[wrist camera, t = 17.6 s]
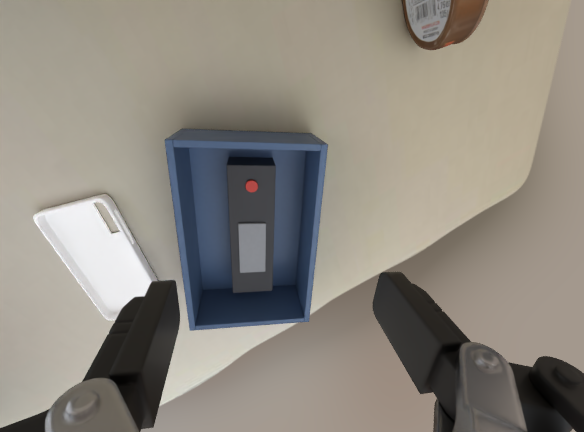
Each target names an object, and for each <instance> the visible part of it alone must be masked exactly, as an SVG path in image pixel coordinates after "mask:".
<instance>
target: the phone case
mask: <svg viewBox="0 0 584 432" xmlns="http://www.w3.org/2000/svg"><path fill="white" fill-rule="evenodd" d="M96 202H101V203H102V204H103V205H104V206H105V207H106V208H107V210H108V212H109V213H110V215H111V217H112V219H113V220H114V222H115V224H116V225H117V227H118V229H119V232H115V233H112V232H111V231H110V229H109V227H108V226H107V224H106V222H105V221H104V219H103V217H102V216H101V214H100V212H99V211H98V209H97V207H96V206H95V204H94V203H96ZM34 221H35V223H36V225H37V226H38V228H39V229H40V230H41V232H42V233H43V234H44V236H45V237H46V239H47V240H48V241H49V243H50V244H51V245H52V247H53V248H54V250H55V251H56V252H57V254H58V255H59V256H60V258H61V259H62V261H63V262H64V263H65V265H66V266H67V267H68V269H69V270H70V272H71V273H72V274H73V276H74V277H75V279H76V280H77V281H78V283H79V284H80V285H81V287H82V288H83V290H84V291H85V292H86V294H87V295H88V296H89V298H90V299H91V301H92V302H93V303H94V305H95V306H96V307H97V309H98V310H99V312H100V313H101V314H102V316H103V317H104V318H105V319H107V320H109V321H113V320H116V318H117V317H118V315H119V313H120V311H121V309H122V308H123V307H124V306H125V305H126V304H127V303H128V302H129V301H130V300H132V299H133V298H134V297H140V296H145V294H146V292H147V290H148V288H149V286H150V284H151V282H152V281H158V280H157V278H156V276H155V274H154V273H153V271H152V269H151V267H150V265H149V264H148V262H147V260H146V258H145V257H144V255H143V253H142V251H141V249H140V248H139V246H138V244H137V242H136V240H135V239H134V237H133V235H132V233H131V231H130V230H129V228H128V226H127V224H126V223H125V221H124V219H123V217H122V215H121V214H120V212H119V210H118V208H117V206H116V205H115V203H114V201H113V200H112V198H111V197H110V196H108V195H107V194H102V195H98V196H94V197H90V198H86V199H82V200H78V201H75V202H71V203H67V204H63V205H59V206H55V207H51V208H47V209H44V210H42V211H40V212H38V213H36V214H35V215H34Z"/></svg>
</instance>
